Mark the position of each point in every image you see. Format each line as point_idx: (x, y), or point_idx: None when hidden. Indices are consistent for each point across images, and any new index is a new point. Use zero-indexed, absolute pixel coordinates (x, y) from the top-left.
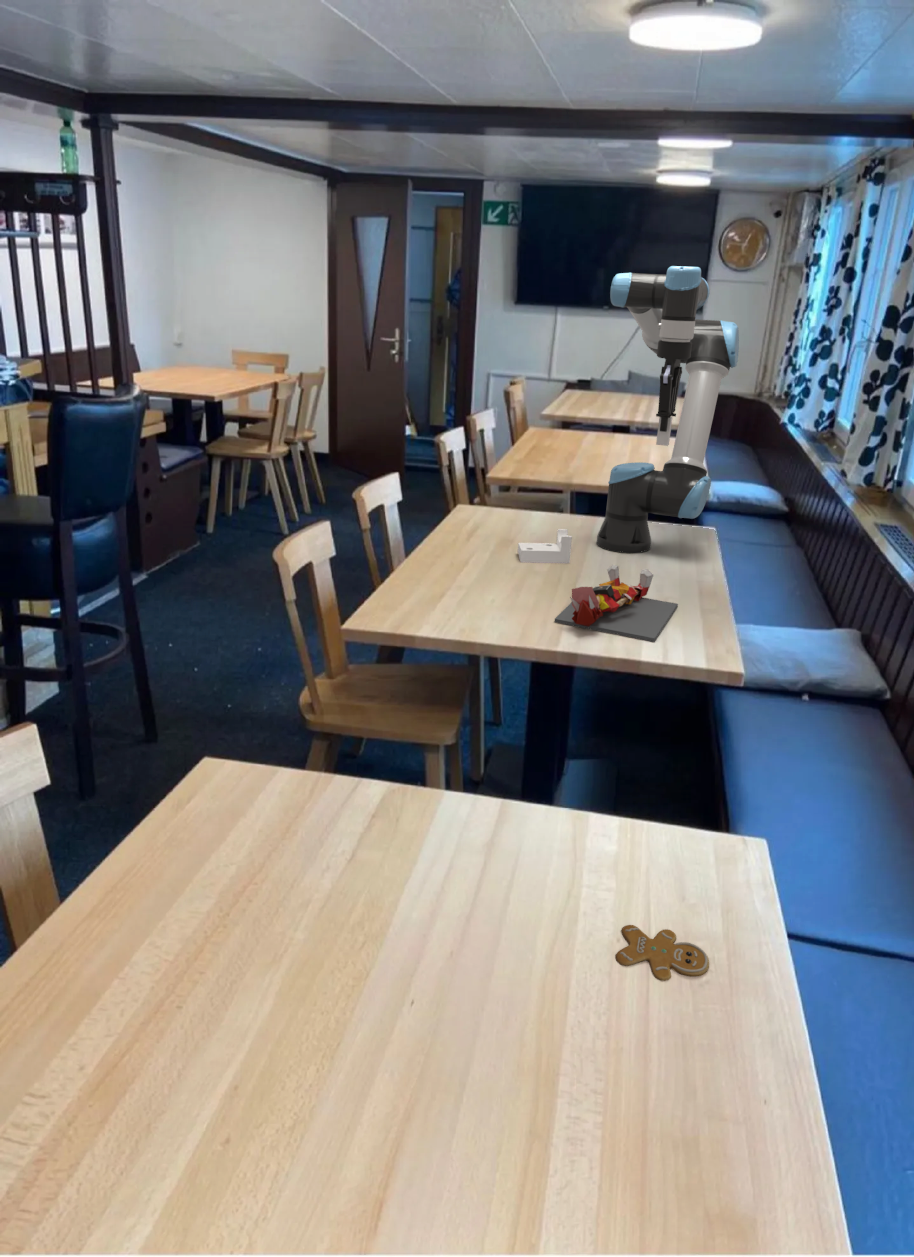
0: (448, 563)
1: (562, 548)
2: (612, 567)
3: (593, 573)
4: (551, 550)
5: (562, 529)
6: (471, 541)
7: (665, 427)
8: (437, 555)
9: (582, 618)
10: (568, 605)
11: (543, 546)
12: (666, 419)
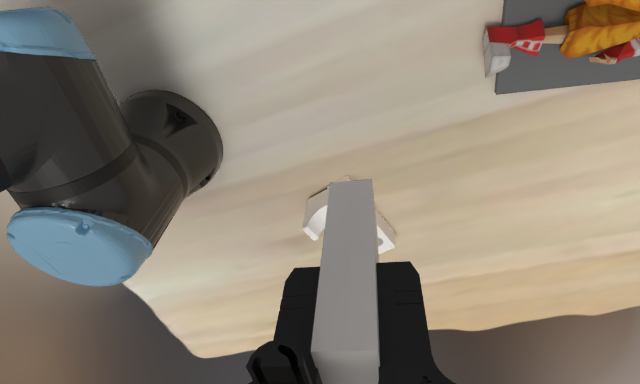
0: (462, 295)
1: None
2: (502, 65)
3: (377, 120)
4: None
5: (309, 234)
6: None
7: (421, 292)
8: (434, 315)
9: None
10: (636, 78)
11: None
12: (430, 357)
